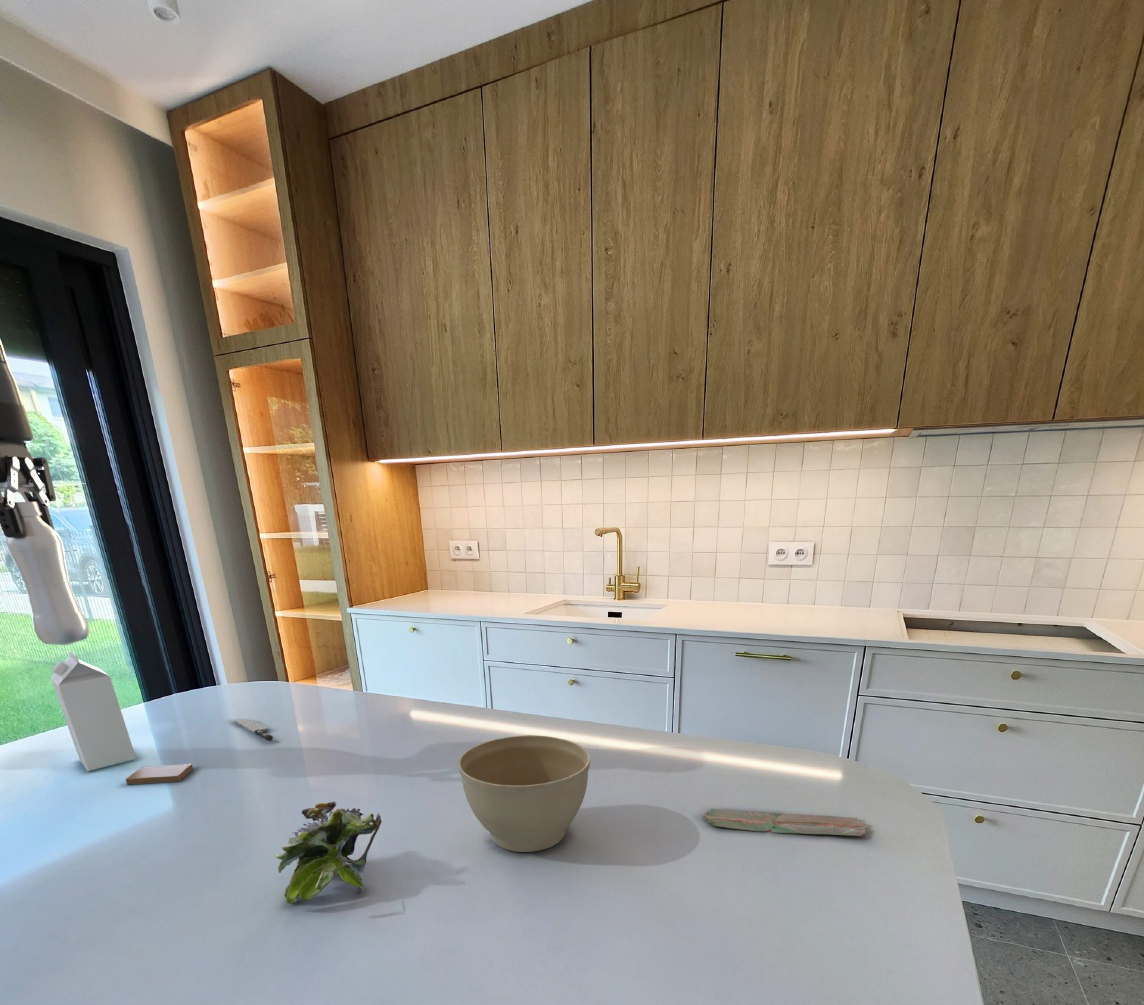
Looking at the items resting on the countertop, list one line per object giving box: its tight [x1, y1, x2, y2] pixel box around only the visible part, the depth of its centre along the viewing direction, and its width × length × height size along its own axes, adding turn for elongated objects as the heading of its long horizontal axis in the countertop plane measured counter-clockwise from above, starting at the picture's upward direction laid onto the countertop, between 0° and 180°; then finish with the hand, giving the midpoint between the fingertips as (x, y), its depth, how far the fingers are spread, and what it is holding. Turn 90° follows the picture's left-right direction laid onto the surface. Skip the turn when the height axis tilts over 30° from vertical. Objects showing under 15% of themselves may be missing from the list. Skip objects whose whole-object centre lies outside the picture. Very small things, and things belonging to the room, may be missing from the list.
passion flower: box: [275, 801, 383, 905], centre depth 74 cm, size 11×11×12 cm
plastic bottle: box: [5, 501, 90, 646], centre depth 95 cm, size 6×7×20 cm
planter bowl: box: [457, 734, 591, 853], centre depth 82 cm, size 16×16×11 cm
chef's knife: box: [232, 719, 274, 742], centre depth 125 cm, size 19×1×3 cm
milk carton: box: [50, 649, 137, 772], centre depth 109 cm, size 7×7×19 cm
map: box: [700, 808, 868, 837], centre depth 84 cm, size 5×20×1 cm, turn 77°
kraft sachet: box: [125, 763, 194, 786], centre depth 105 cm, size 8×5×1 cm, turn 95°
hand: (31, 535), depth 93 cm, fingers closed on plastic bottle, 6 cm apart
